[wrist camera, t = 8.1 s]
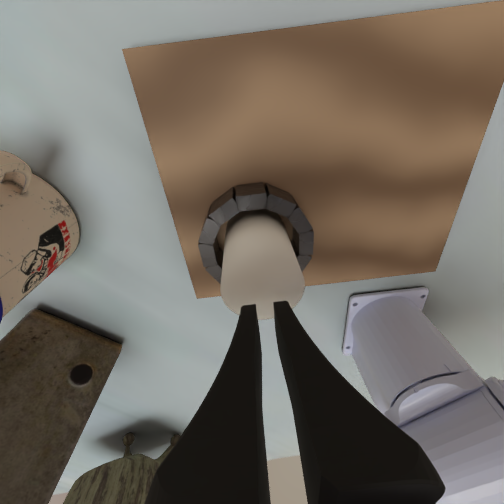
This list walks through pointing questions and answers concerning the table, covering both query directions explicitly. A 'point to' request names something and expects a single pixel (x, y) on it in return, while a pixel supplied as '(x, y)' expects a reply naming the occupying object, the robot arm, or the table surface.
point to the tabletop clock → (118, 479)
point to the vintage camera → (46, 400)
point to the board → (328, 130)
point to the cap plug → (259, 264)
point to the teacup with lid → (30, 231)
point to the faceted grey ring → (253, 199)
